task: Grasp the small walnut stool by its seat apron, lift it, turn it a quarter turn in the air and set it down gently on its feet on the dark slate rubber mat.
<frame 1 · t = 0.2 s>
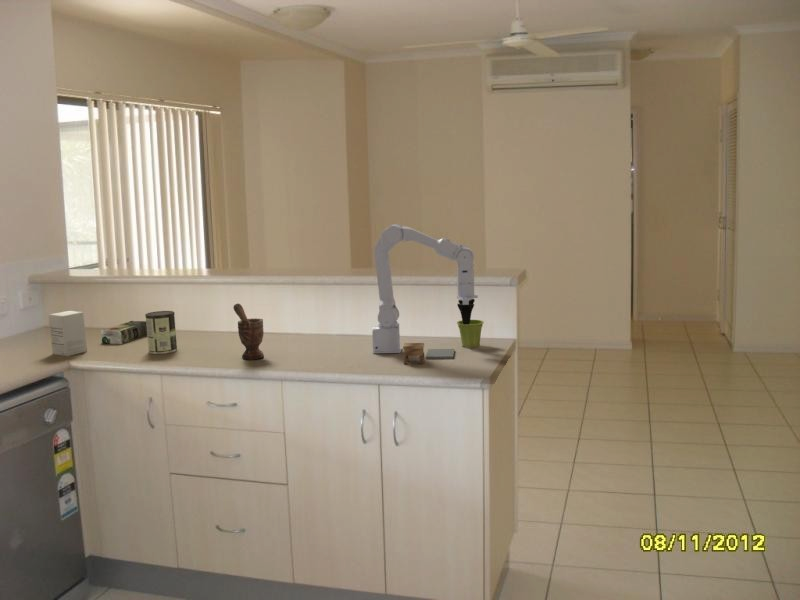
hand: (466, 322, 304), 10 cm above the counter, fingers open, 7 cm apart
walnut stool: (414, 362, 291), on the counter
supplement box: (69, 353, 326), on the counter
slate mat: (440, 354, 301), on the counter
plant pot: (470, 346, 313), on the counter
coffee can: (162, 351, 324), on the counter
mortar and pestle: (251, 359, 305), on the counter
juice carton: (126, 340, 350), on the counter
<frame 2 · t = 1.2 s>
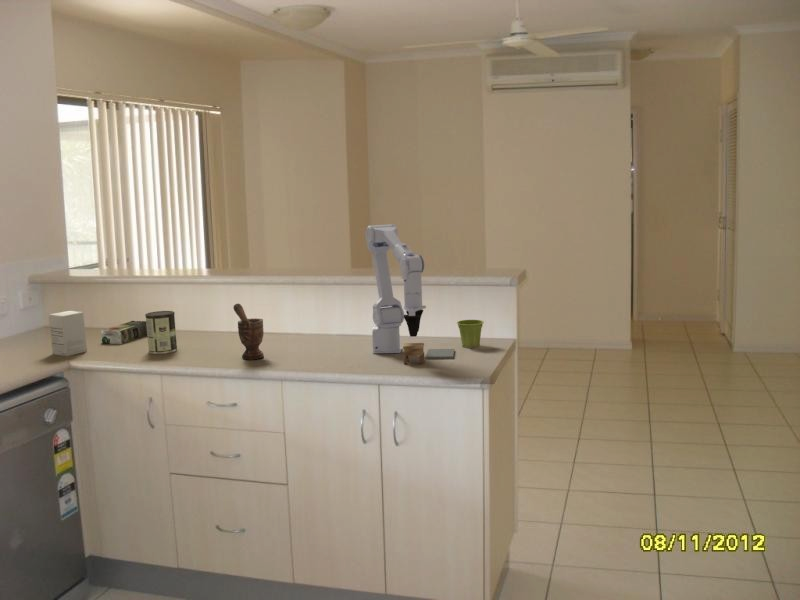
hand: (414, 334, 289), 9 cm above the counter, fingers open, 7 cm apart
nothing on the counter moved.
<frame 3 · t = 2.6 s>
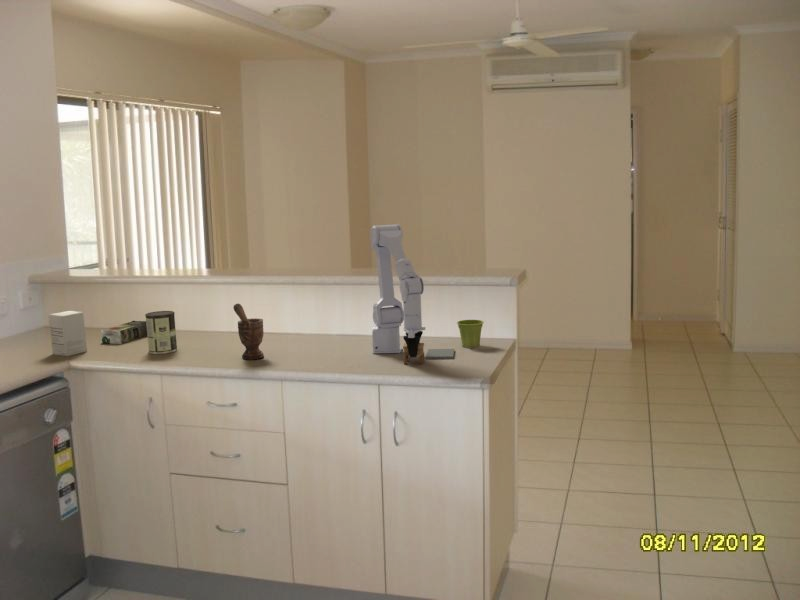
hand: (413, 355, 290), 2 cm above the counter, fingers closed on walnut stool, 5 cm apart
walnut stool: (414, 362, 291), on the counter, touching gripper
everything else where it was.
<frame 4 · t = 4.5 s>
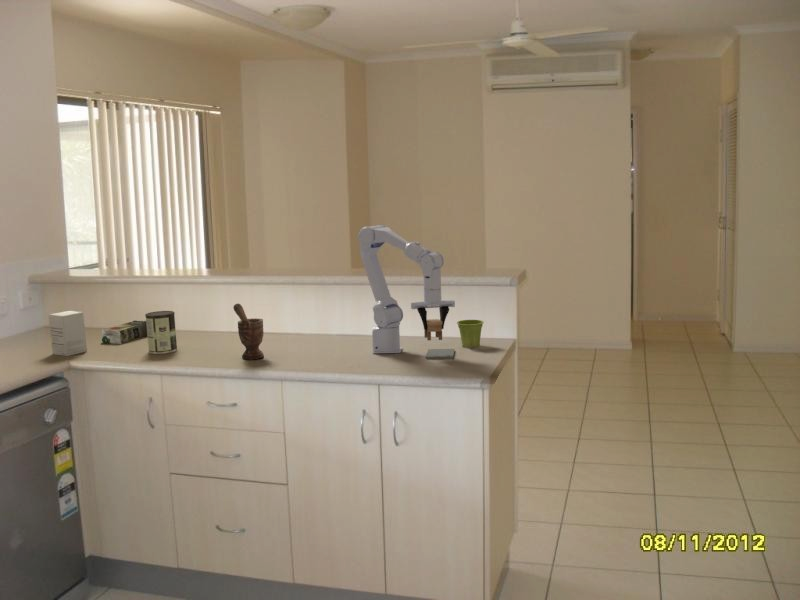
hand: (433, 329, 297), 9 cm above the counter, fingers closed on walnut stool, 5 cm apart
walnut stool: (433, 338, 298), point 6 cm above the counter, touching gripper
everything else where it was.
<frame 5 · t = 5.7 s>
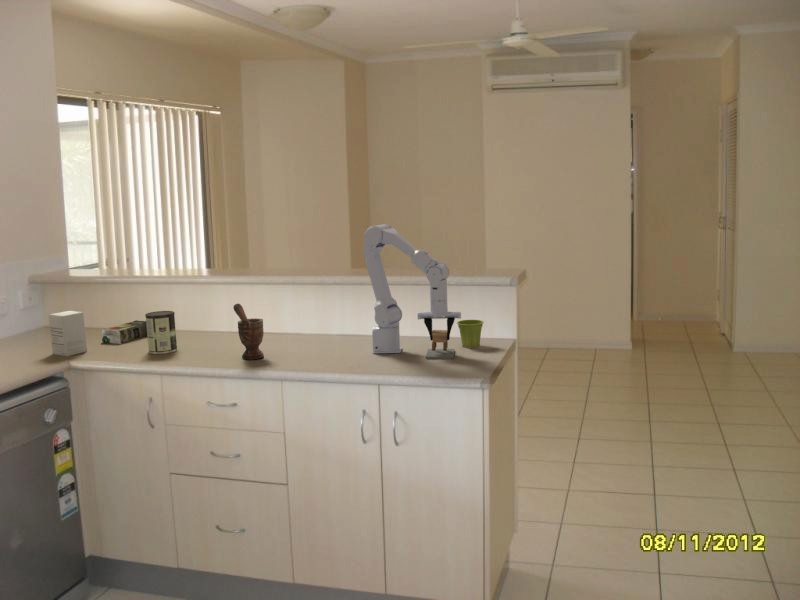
hand: (440, 339, 300), 5 cm above the counter, fingers closed on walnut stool, 5 cm apart
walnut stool: (439, 348, 301), point 2 cm above the counter, touching gripper
everything else where it was.
when the fingers open (4 cm above the counter, at t = 6.5 s): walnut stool stays where it is, resting on slate mat.
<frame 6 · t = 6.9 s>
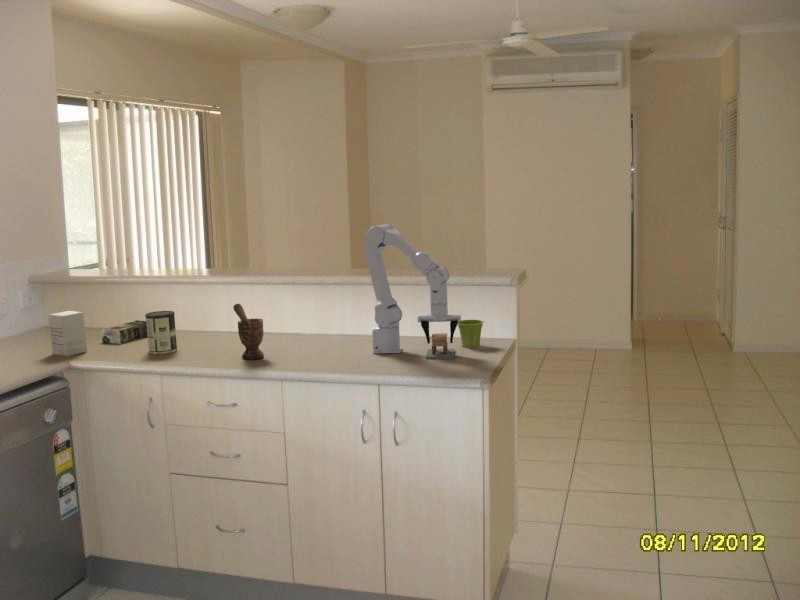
hand: (440, 342, 300), 4 cm above the counter, fingers open, 7 cm apart
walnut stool: (439, 352, 301), point 1 cm above the counter, touching slate mat
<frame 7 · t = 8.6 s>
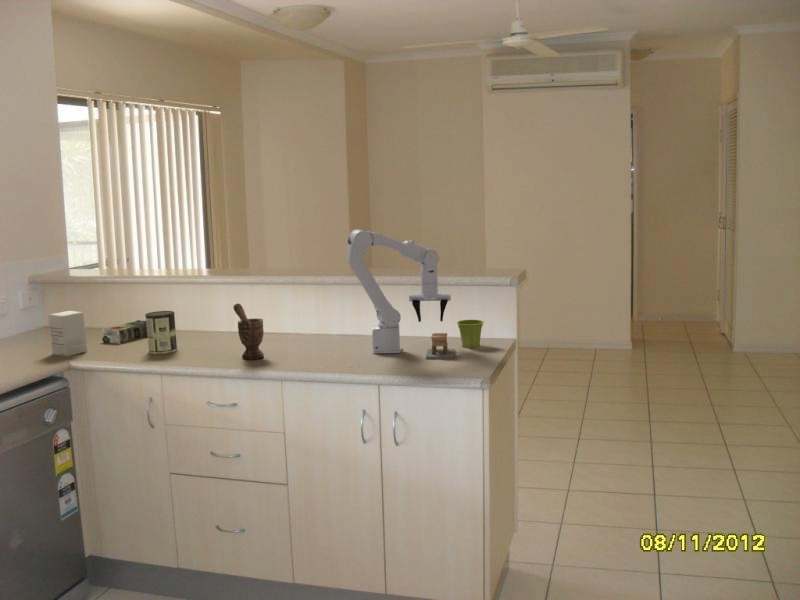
hand: (430, 321, 312), 9 cm above the counter, fingers open, 7 cm apart
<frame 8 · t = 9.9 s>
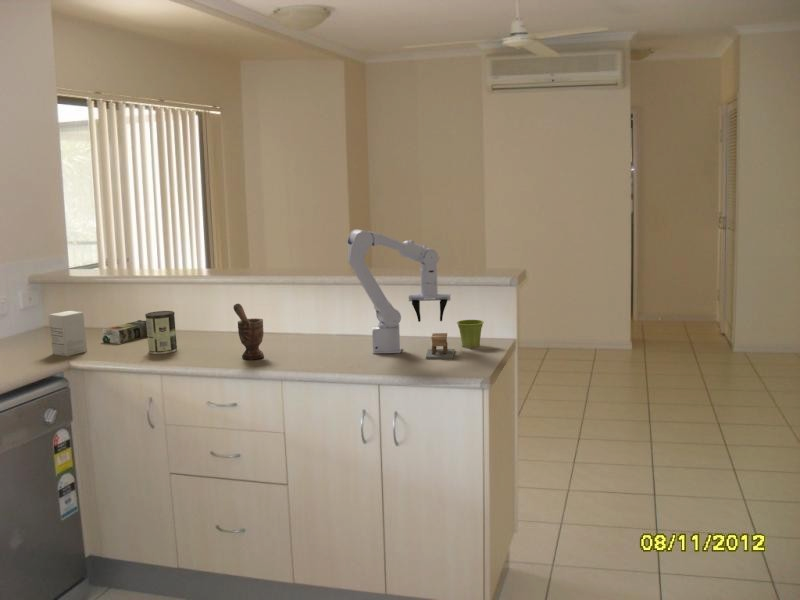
hand: (430, 321, 312), 9 cm above the counter, fingers open, 7 cm apart
at the end: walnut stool 0.4 cm off-centre on the slate mat, point 0.8 cm above the slate mat's base; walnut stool tilted 0°; the gripper is holding nothing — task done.
